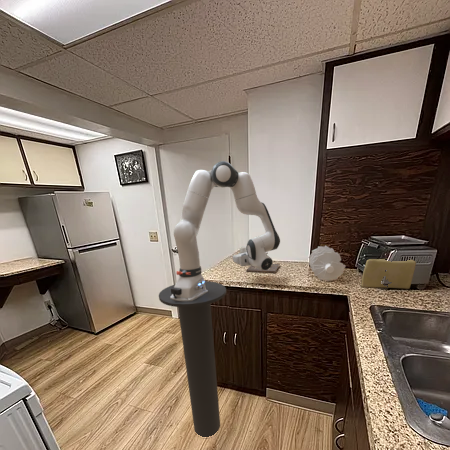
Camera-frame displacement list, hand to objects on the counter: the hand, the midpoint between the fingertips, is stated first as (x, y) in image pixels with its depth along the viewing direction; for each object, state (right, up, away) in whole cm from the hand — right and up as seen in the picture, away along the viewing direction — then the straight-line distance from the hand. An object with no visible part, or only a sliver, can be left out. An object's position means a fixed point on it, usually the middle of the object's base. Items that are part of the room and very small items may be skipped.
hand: (243, 252), depth 157 cm
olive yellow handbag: (+74, -23, -24) cm, 81 cm away
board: (+16, -7, +22) cm, 28 cm away
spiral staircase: (+50, -16, -2) cm, 53 cm away
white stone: (+1, -5, +1) cm, 5 cm away
